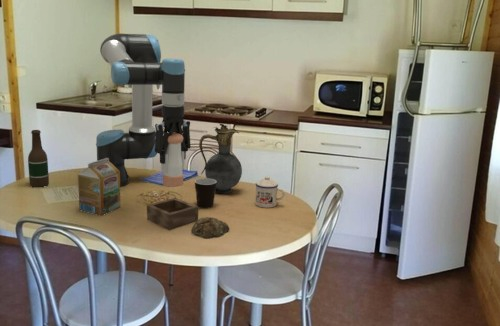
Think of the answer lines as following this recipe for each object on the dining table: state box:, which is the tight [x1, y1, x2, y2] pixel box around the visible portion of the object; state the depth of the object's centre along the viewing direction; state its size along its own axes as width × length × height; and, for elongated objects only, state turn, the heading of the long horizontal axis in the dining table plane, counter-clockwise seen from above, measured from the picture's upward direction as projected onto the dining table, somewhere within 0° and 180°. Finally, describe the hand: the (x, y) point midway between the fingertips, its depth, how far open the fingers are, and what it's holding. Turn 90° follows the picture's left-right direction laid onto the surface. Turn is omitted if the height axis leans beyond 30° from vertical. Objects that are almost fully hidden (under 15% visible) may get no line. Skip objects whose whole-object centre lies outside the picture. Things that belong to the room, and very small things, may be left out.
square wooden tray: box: [146, 197, 199, 231], centre depth 173 cm, size 13×13×6 cm
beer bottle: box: [27, 129, 50, 188], centre depth 203 cm, size 8×8×24 cm
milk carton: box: [77, 158, 122, 217], centre depth 180 cm, size 11×11×19 cm
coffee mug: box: [194, 177, 217, 209], centre depth 191 cm, size 12×9×10 cm
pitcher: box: [198, 123, 243, 195], centre depth 206 cm, size 11×19×30 cm, turn 76°
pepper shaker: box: [163, 132, 184, 188], centre depth 168 cm, size 7×7×19 cm
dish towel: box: [139, 169, 199, 188], centre depth 225 cm, size 17×24×3 cm
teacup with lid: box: [254, 175, 286, 209], centre depth 194 cm, size 12×9×12 cm
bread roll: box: [191, 216, 230, 240], centre depth 165 cm, size 13×12×5 cm
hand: (172, 170), depth 169 cm, fingers closed on pepper shaker, 7 cm apart
